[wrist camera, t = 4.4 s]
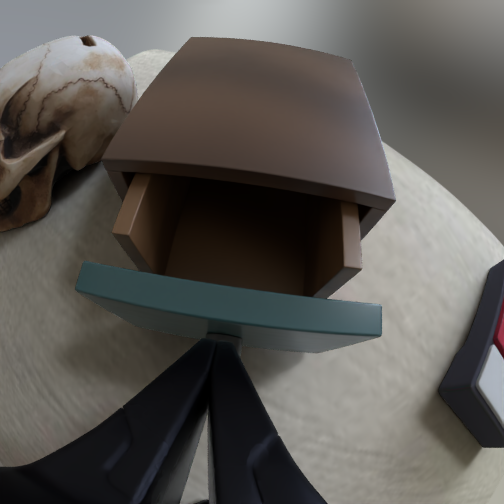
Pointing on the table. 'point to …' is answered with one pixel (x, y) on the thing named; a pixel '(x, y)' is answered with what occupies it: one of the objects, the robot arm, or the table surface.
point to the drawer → (235, 265)
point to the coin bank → (57, 118)
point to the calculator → (481, 368)
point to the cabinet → (258, 124)
